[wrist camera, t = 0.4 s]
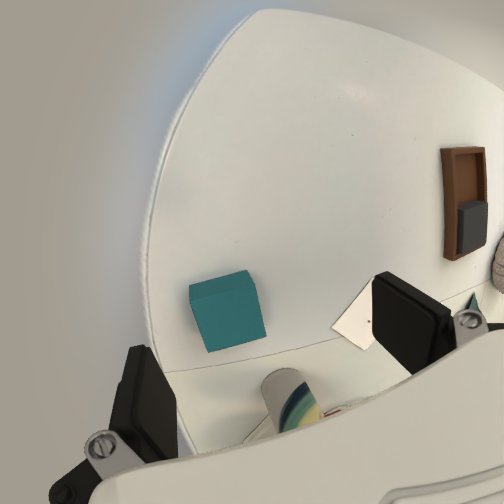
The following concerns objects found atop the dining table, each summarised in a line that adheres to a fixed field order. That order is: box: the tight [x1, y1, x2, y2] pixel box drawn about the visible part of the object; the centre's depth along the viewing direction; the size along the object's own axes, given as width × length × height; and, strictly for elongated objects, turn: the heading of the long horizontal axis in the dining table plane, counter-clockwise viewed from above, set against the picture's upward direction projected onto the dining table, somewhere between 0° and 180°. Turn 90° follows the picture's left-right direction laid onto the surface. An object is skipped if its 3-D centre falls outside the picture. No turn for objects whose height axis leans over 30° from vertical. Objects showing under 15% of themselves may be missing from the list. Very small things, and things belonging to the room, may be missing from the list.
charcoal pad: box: [456, 200, 488, 254], centre depth 32 cm, size 6×7×2 cm
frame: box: [441, 146, 487, 261], centre depth 32 cm, size 16×10×2 cm, turn 12°
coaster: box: [331, 277, 375, 350], centre depth 34 cm, size 8×8×1 cm
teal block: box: [189, 270, 266, 353], centre depth 28 cm, size 6×6×4 cm
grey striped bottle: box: [262, 369, 325, 434], centre depth 25 cm, size 6×6×20 cm
